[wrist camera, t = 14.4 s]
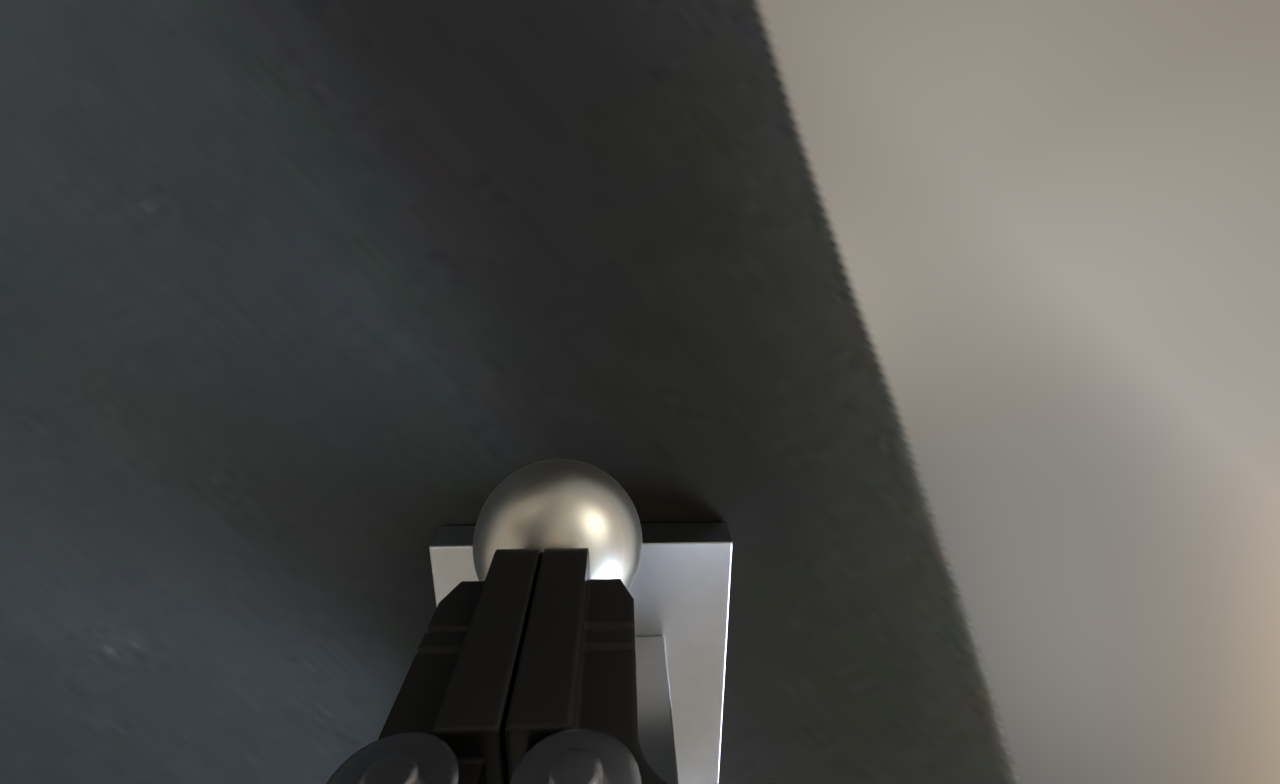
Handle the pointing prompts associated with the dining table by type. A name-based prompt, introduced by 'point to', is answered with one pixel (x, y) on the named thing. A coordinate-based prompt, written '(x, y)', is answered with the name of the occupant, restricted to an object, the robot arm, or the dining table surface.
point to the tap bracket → (658, 638)
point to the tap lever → (562, 518)
